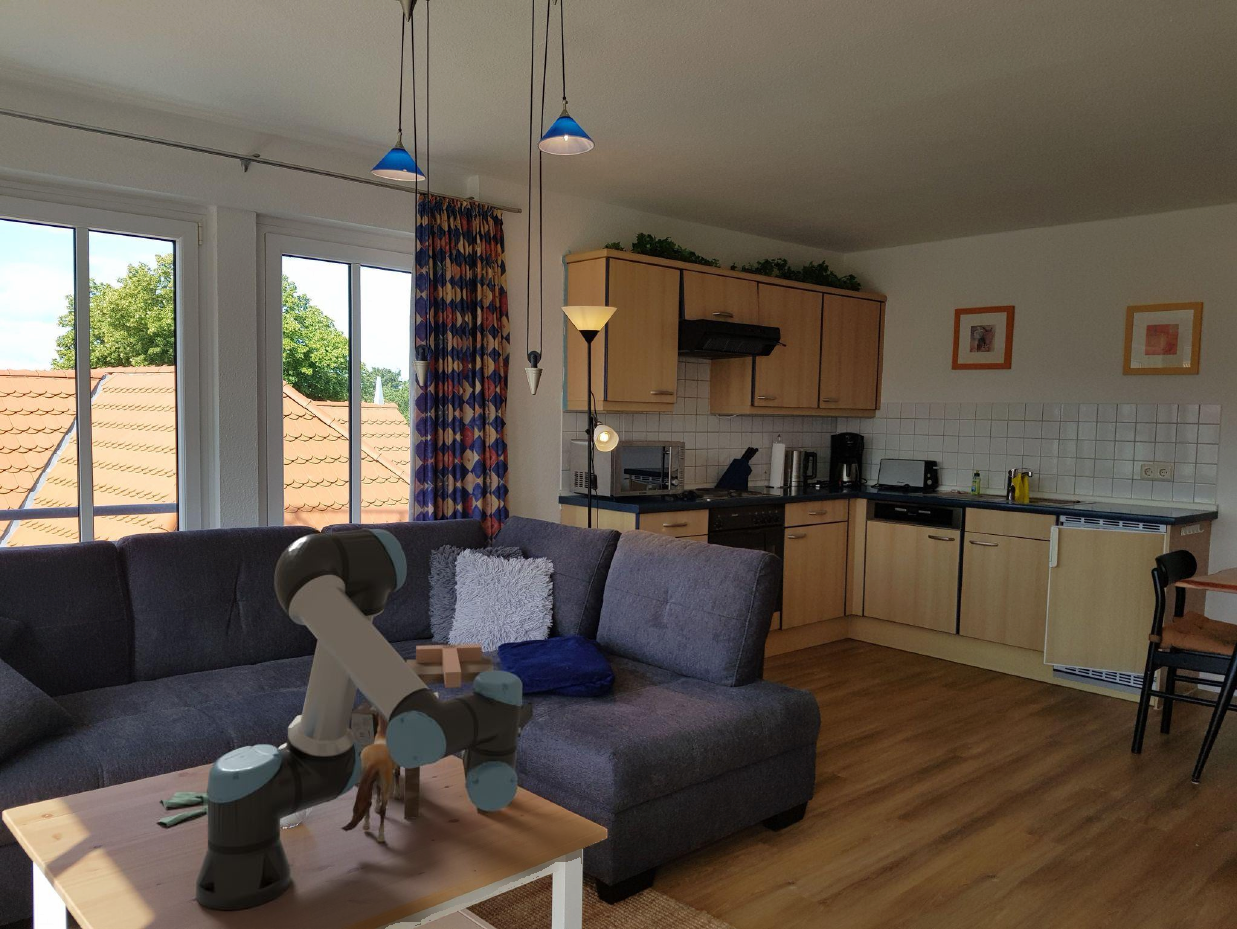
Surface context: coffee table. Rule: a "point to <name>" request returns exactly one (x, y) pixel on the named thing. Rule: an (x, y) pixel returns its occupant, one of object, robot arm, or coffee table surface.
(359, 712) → the coffee box
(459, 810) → the coffee table surface
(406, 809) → the walnut table
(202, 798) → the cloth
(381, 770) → the horse figurine
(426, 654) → the terracotta T
